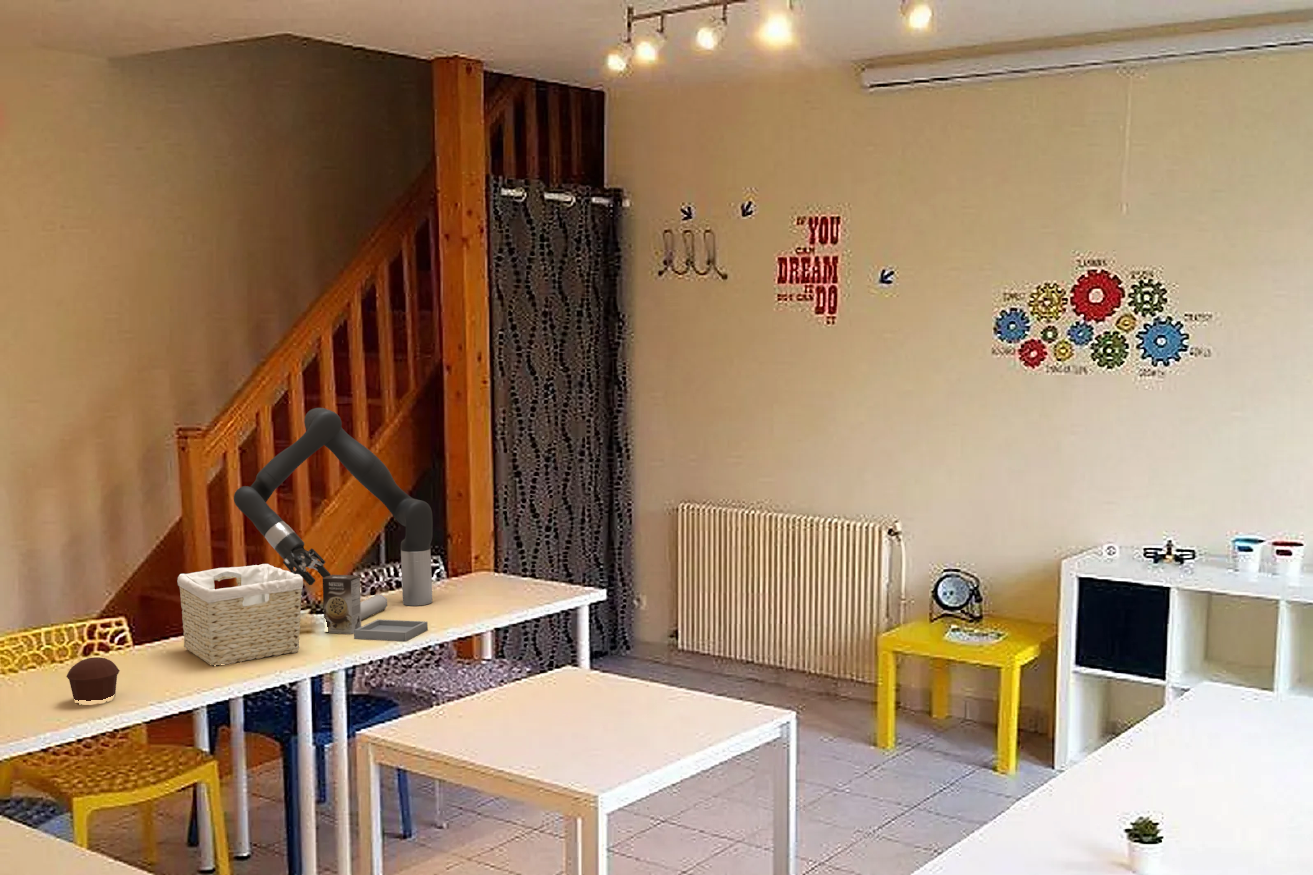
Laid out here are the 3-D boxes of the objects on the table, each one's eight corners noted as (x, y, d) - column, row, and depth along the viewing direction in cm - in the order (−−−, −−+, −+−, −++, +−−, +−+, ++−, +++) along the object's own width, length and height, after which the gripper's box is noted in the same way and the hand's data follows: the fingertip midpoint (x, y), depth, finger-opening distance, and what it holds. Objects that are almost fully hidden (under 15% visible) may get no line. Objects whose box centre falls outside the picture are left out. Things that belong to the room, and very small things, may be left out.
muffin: (109, 691, 322) (107, 650, 321) (129, 699, 314) (127, 658, 313) (59, 701, 313) (57, 660, 312) (79, 710, 305) (76, 668, 305)
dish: (377, 627, 384) (377, 619, 384) (427, 630, 380) (427, 621, 380) (354, 638, 371) (353, 630, 371) (405, 641, 367) (405, 632, 366)
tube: (349, 615, 384) (389, 597, 408) (334, 609, 385) (374, 591, 409) (345, 632, 385) (385, 613, 409) (329, 626, 386) (370, 607, 410)
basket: (309, 653, 356) (306, 574, 354) (210, 670, 340) (206, 587, 338) (272, 635, 378) (269, 561, 376) (178, 651, 362) (174, 573, 360)
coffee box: (323, 633, 379) (321, 578, 377) (333, 628, 385) (331, 573, 384) (352, 634, 377) (350, 578, 375) (362, 629, 383) (360, 574, 382)
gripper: (278, 535, 376) (315, 576, 374) (305, 527, 390) (341, 567, 387) (263, 553, 378) (300, 594, 376) (290, 545, 392) (325, 584, 389)
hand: (320, 580), depth 381 cm, fingers open, 8 cm apart
